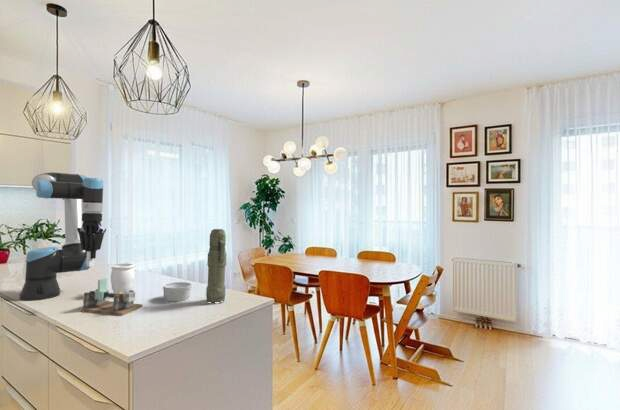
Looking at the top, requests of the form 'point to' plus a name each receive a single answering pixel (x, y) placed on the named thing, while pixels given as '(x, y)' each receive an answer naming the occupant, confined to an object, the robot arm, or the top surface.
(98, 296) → the mint green stepped block
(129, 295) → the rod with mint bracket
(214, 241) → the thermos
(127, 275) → the jar
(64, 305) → the top surface
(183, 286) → the ramekin
